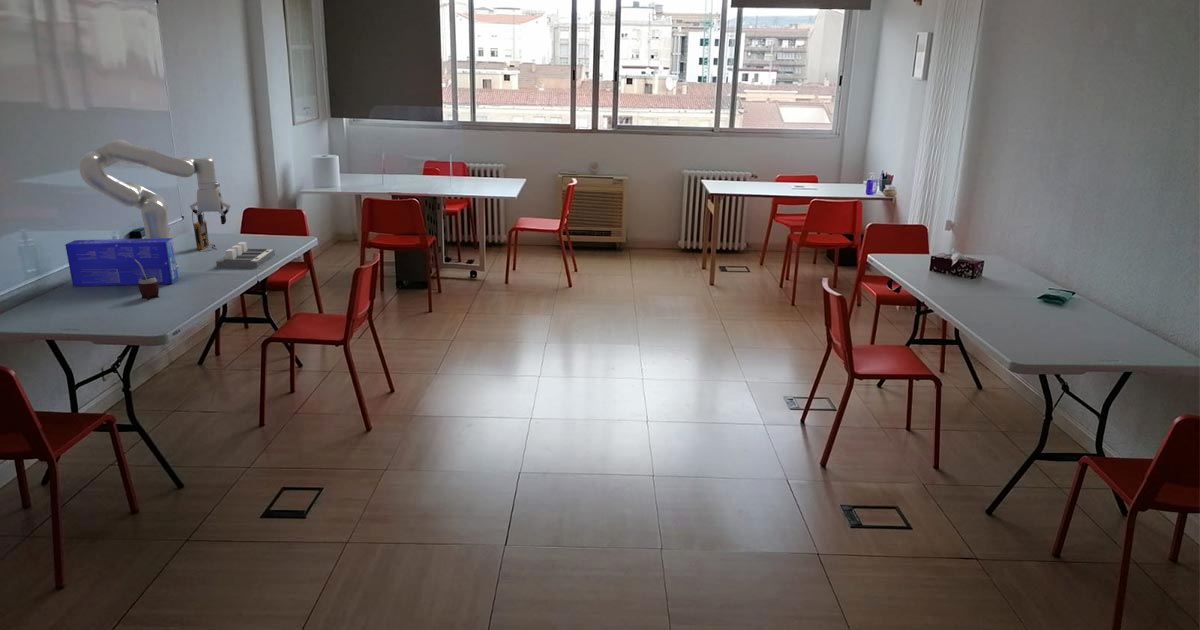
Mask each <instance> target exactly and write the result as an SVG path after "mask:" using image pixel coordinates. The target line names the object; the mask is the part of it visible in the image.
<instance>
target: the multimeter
mask: <svg viewBox="0 0 1200 630" xmlns="http://www.w3.org/2000/svg"><path fill="white" fill-rule="evenodd" d="M202 213H203V214H202V215H203V224H199V222H198V221H197V222H195V223H194V222H192V225H193V231H194V236H195V243H196V250H198V252H200V250H202V249H203V250H204V249H205V250H204V252H207V251H206V250H207V249H206V248H209V247H210V245H209V244H210V241H209V235H208V228H207V221H206V220H205V214H204V212H202ZM193 216H194V212H193V211H192V213H191V218H192V221H194V217H193ZM208 246H209V247H208ZM213 246H214V245H211V249H215V248H216V250H218V248H217V247H216V246H214V247H213ZM211 249H208V250H209V251H212V250H211Z"/></svg>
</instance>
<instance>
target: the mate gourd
mask: <svg viewBox="0 0 1200 630" xmlns="http://www.w3.org/2000/svg"><path fill="white" fill-rule="evenodd" d="M135 261H136V262H137V263H138V264H139V266H140V268H141V270H142V272H143V275H144V277H143V278H140V280H139V282H138V285H137V287H138V289H139V293H140V295H141V299H147V301H149V300H152V298H153V299H154V298H155V299H156V298H157V299H158V298H159V297H160V296H159V293H160V292H159V291H160V287H159V286H160V284H158V281H157V279H156V278H155V277H146V275H145V273H144V271H143V268H142V265H141V264H140V263H139V262H138V261H137V260H136V259H135Z"/></svg>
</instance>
